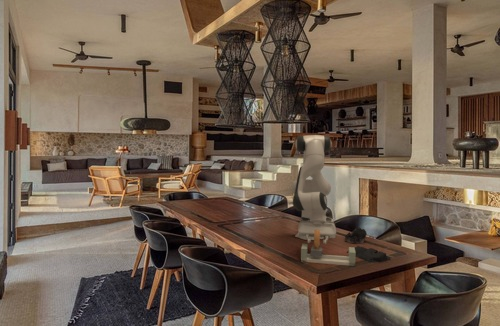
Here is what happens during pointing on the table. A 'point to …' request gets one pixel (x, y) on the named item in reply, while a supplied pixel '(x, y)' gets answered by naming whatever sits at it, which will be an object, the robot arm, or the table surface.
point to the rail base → (327, 261)
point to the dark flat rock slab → (370, 254)
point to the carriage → (316, 244)
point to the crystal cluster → (356, 236)
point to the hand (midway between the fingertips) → (316, 243)
